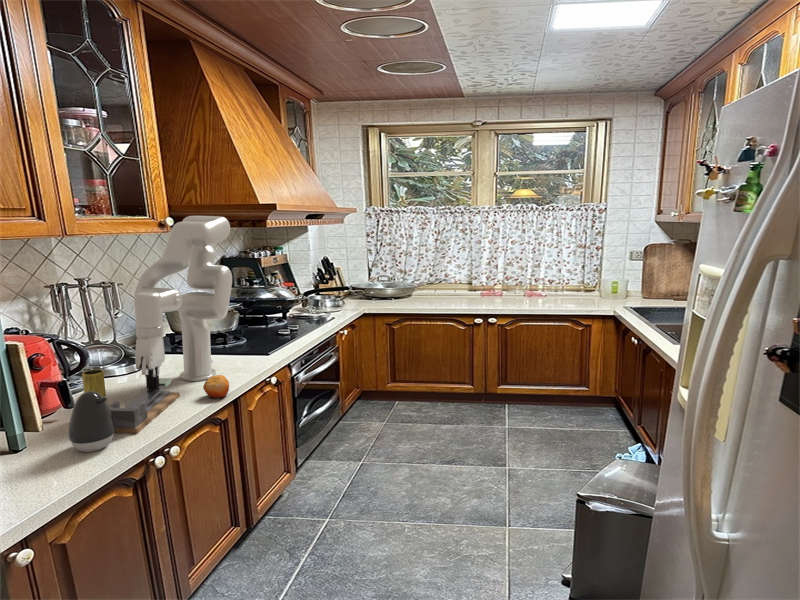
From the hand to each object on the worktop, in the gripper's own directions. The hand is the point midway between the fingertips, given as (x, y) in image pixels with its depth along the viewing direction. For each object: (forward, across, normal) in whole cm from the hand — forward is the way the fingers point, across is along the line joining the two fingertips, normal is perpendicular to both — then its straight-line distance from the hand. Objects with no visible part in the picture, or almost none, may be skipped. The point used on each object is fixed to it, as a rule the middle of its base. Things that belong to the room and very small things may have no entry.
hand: (153, 387), depth 154 cm
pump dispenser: (+6, +29, -2) cm, 29 cm away
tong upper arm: (+2, +5, 0) cm, 5 cm away
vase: (+6, +10, -12) cm, 17 cm away
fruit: (+6, -8, +17) cm, 20 cm away
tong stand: (+6, +7, 0) cm, 9 cm away
